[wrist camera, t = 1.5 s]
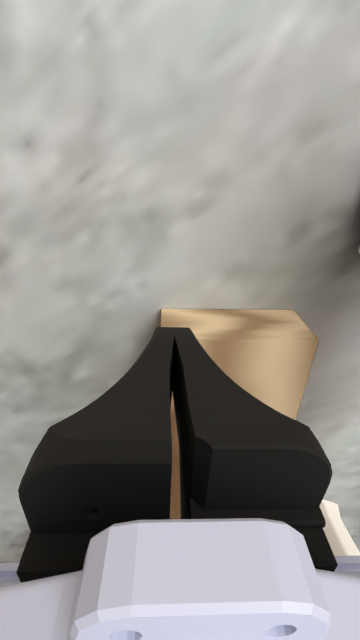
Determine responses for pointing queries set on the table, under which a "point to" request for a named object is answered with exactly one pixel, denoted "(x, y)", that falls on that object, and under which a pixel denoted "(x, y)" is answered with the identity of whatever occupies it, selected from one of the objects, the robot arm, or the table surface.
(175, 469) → the walnut block
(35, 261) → the table surface
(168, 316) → the oak step
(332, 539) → the perfume bottle
